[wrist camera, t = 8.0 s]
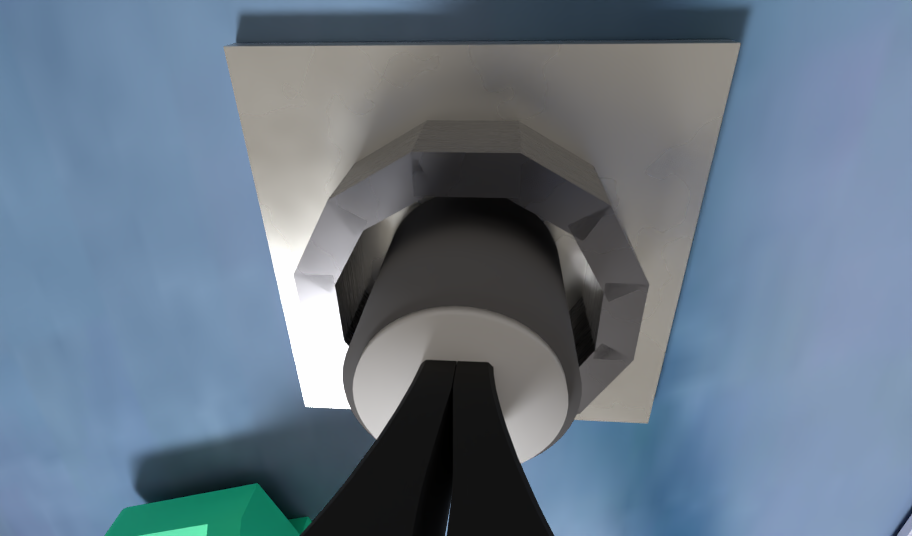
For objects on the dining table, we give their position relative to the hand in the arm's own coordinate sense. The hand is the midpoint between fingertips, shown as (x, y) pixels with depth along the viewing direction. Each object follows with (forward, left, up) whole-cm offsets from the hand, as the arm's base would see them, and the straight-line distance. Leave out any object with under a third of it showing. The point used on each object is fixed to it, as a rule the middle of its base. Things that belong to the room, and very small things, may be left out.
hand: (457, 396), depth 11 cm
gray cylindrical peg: (0, 0, -5) cm, 5 cm away
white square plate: (0, 0, -6) cm, 6 cm away
